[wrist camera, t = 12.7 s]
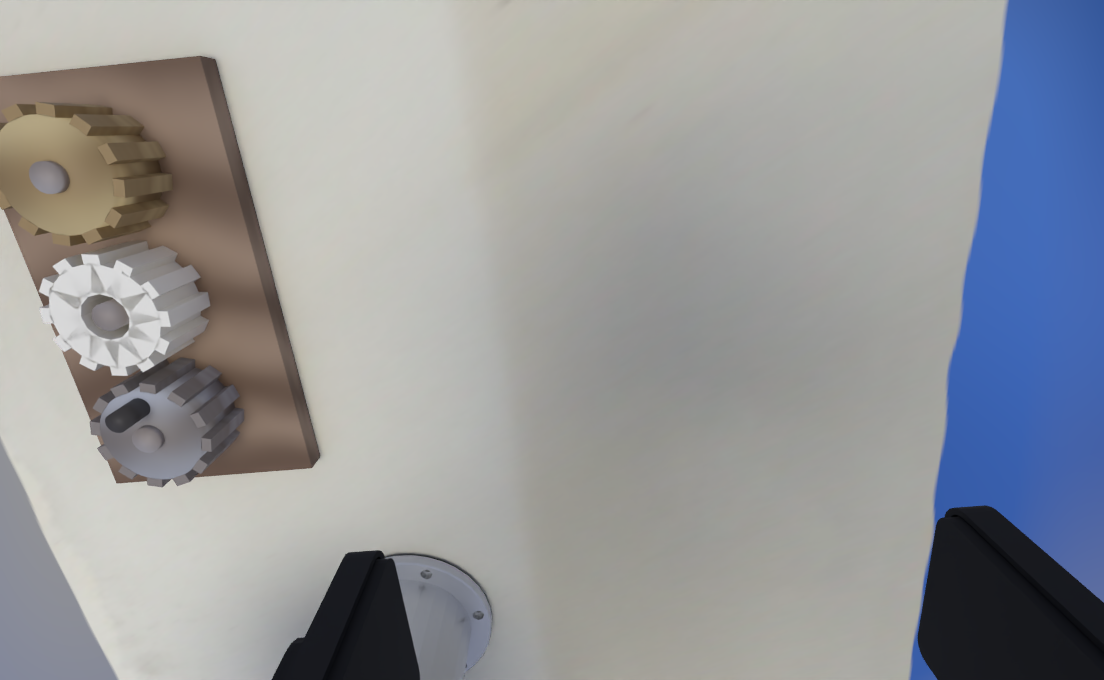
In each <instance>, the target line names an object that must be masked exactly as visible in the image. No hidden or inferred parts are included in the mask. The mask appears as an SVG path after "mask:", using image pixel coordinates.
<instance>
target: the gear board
mask: <svg viewBox="0 0 1104 680" xmlns="http://www.w3.org/2000/svg"><path fill="white" fill-rule="evenodd" d="M0 207H1V209H2V210H4V211H5V214H6V216H7V218H8V221H9V223H10V226H11V228H12V231H13V233H14V235H15V238H16V240H17V243H18V245H19V248H20V250H21V252H22V255H23V257H24V260H25V262H26V265H27V267H28V269H29V272H30V274H31V277H32V279H33V281H34V284H35V286H36V289H37V291H38V294H39V296H40V298H41V301H42V303H43V306H46V305H49V297H48V296H46V295H44V294H42V293H40V292H39V290H40V286H41V283H42V280H43V278H45V277H49V276H52V275H56V274H59V273H58V272H57V271H56V270H55V269H54V268H53V265H55V264H57V263H58V262H60V261H61V260H63V259H65V258H68V257H72V256H75V255H79V254H83V253H87V252H90V251H94V250H98V249H101V248H105V247H109V246H112V245H116V244H121V243H125V242H128V241H147V244H148V248H149V250H150V249H154V248H157V247H160V246H165V247H167V248H169V249H171V250H173V251H175V252H176V253H178V254H177V257H176V259H175V262H176V263H178V264H179V265H180V266H181V267H182V268H184V267H187V266H189V265H192V266H193V268H194V269H195V270H196V271H197V273H198V274H199V275H200V277H201V278H199V279H197V280H196V281H194V283H195V285H196V287H197V289H198V292H208V296H209V301H210V307H208V308H206V309H204V310H202V311H201V315H200V316H202V317H204V318H206V319H208V320H209V321H208V324H207V326H206V328H205V331H204V332H202V333H201V334H199V335H197V336H196V337H194V338H193V339H194V340H195V342H193V343H192V344H190V345H188V346H187V347H185V348H183V349H182V350H180V351H178V352H177V353H175V354H173V355H172V356H170V357H168V358H167V359H165V360H163V361H162V362H160V363H158V364H157V365H155V366H153V367H151V368H150V369H148V370H146V371H145V372H142V371H141V369H139V370H137V371H135V372H133V373H132V374H130V375H128V376H112V373H111V369H110V366H106V365H105V366H103V367H101V368H100V369H98V370H96V371H94V370H91V369H89V368H87V367H85V366H83V365H81V364H79V363H80V360H81V357H82V355H80V354H79V353H78V352H76V351H75V350H74V349H70V350H68V351H65V352H63V350H62V352H63V354H64V357H65V359H66V362H67V364H68V366H69V369H70V371H71V374H72V376H73V378H74V381H75V383H76V386H77V388H78V391H79V393H80V395H81V398H82V400H83V403H84V405H85V408H86V410H87V412H88V415H89V417H90V420H91V421H90V428H91V435H97V437H98V439H99V442H100V444H101V446H100V447H98V448H97V449H98V450H99V452H100V453H101V454H102V456H103V457H104V459H105V460H107V461H108V463H109V466H110V468H111V471H112V473H113V475H114V478H115V480H116V483H128V482H141V481H147V484H148V485H150V486H157V487H163V486H164V485H165V484H166V483H167V482H169V481H170V480H171V479H173V480H174V482H175V483H176V485H177V486H179V485H182V484H185V483H188V482H190V481H191V480H192V479H193V478H194V477H204V476H217V475H229V474H242V473H255V472H268V471H280V470H293V469H306V468H312V467H313V466H314V464H315V463H316V462H317V460H318V459H319V457H320V454H319V450H318V447H317V443H316V439H315V435H314V432H313V428H312V424H311V420H310V416H309V413H308V409H307V405H306V401H305V398H304V394H303V390H302V386H301V382H300V379H299V375H298V371H297V367H296V364H295V360H294V356H293V352H292V348H291V345H290V341H289V337H288V333H287V330H286V326H285V322H284V318H283V314H282V311H281V307H280V303H279V299H278V296H277V292H276V288H275V284H274V280H273V277H272V273H271V269H270V265H269V262H268V258H267V254H266V250H265V246H264V243H263V239H262V235H261V231H260V228H259V224H258V220H257V216H256V212H255V209H254V205H253V201H252V197H251V194H250V190H249V186H248V182H247V178H246V175H245V171H244V167H243V163H242V160H241V156H240V152H239V148H238V144H237V141H236V137H235V133H234V129H233V126H232V122H231V118H230V114H229V110H228V107H227V103H226V99H225V95H224V92H223V88H222V84H221V80H220V76H219V73H218V69H217V65H216V61H215V59H212V58H207V57H202V56H196V57H186V58H176V59H167V60H157V61H147V62H138V63H128V64H118V65H108V66H99V67H89V68H79V69H70V70H60V71H50V72H41V73H31V74H21V75H12V76H2V77H0ZM91 314H92V319H93V321H94V323H95V324H96V325H97V326H98V327H100V328H101V329H103V330H106V331H114V330H116V329H118V328H121V327H123V326H125V325H127V324H129V316H128V314H127V312H126V310H125V308H124V306H122V305H121V304H120V303H119V302H117V301H116V300H115V299H114V298H113V299H111V300H108V301H106V302H103V303H101V304H98V305H96V306H95V307H94V308H93V309H92V313H91ZM51 325H52V328H53V330H54V332H55V335H56V337H57V336H58V335H60V334H59V332H58V331H57V329H56V327H55V325H54V324H51Z"/></svg>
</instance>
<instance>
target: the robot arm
mask: <svg viewBox="0 0 1104 680" xmlns="http://www.w3.org/2000/svg"><path fill="white" fill-rule="evenodd" d="M491 626H492V615H491V609H490V606H489V603H488V601H487V598H486V596H485V595H484V593H483V592H482V590H481V589H480V587H479V586H478V585H477V584H476V583H475V582H474V581H473V580H472V579H471V578H470V577H469V576H468V575H466V574H465V573H463V572H462V571H460V570H459V569H457V568H456V567H454V566H451V565H449V564H447V563H445V562H443V561H439V560H436V559H432V558H429V557H422V556H414V555H402V556H392V557H387V558H385V557H384V554H383V553H382V551H379V550H377V551H363V552H350V553H347V554H346V555H345V557H344V558H343V560H342V562H341V564H340V566H339V568H338V570H337V572H336V574H335V576H334V578H333V580H332V582H331V585H330V587H329V589H328V591H327V593H326V595H325V597H324V599H323V601H322V603H321V605H320V607H319V609H318V611H317V613H316V615H315V617H314V620H313V622H312V624H311V626H310V628H309V630H308V632H307V634H306V636H305V638H297V639H296V640H295V641H293V642H292V643H291V645H290V646H289V648H288V649H287V651H286V652H285V654H284V656H283V658H282V660H281V662H280V664H279V666H278V668H277V670H276V672H275V674H274V676H273V678H272V680H464V673H465V672H466V671H467V670H469V669H470V668H471V667H472V666H474V665H475V664H476V663H477V662H478V660H479V659H480V658H481V657H482V656H483V654H484V652H485V650H486V648H487V646H488V644H489V640H490V635H491ZM918 645H919V648H920V652H921V654H922V657H923V658H924V660H925V662H926V663H927V665H928V666H929V668H930V669H931V671H932V672H933V673H934V675H935V676H936V678H937V679H938V680H1104V603H1103V602H1102V601H1101V600H1100V599H1099V598H1097V597H1096V596H1095V595H1094V594H1093V593H1092V592H1091V591H1089V590H1088V589H1087V588H1086V587H1085V586H1084V585H1082V584H1081V583H1080V582H1079V581H1078V580H1077V579H1075V578H1074V577H1073V576H1072V575H1071V574H1070V573H1069V572H1067V571H1066V570H1065V569H1064V568H1063V567H1062V566H1060V565H1059V564H1058V563H1057V562H1056V561H1055V560H1054V559H1052V558H1051V557H1050V556H1049V555H1048V554H1047V553H1045V552H1044V551H1043V550H1042V549H1041V548H1040V547H1038V546H1037V545H1036V544H1035V543H1034V542H1033V541H1031V540H1030V539H1029V538H1028V537H1027V536H1025V534H1023V533H1022V532H1021V531H1020V530H1019V529H1018V528H1017V527H1015V526H1014V525H1013V524H1012V523H1011V522H1010V521H1008V520H1007V519H1006V518H1005V517H1004V516H1003V515H1001V514H1000V513H999V512H998V511H997V510H995V509H994V508H992V507H989V506H973V507H960V508H952V509H949V510H948V511H947V512H946V514H945V517H944V518H941V519H939V520H938V522H937V525H936V530H935V536H934V542H933V548H932V554H931V561H930V566H929V572H928V578H927V584H926V590H925V596H924V602H923V608H922V614H921V620H920V626H919V632H918Z"/></svg>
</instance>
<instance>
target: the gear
mask: <svg viewBox="0 0 1104 680" xmlns="http://www.w3.org/2000/svg"><path fill="white" fill-rule="evenodd" d="M177 254H178V253H176V252H175V251H173V250H171V249H169V248H167V247H165V246H160V247H157V248H154V249H150V250H149V248H148V244H147V241H128V242H125V243H121V244H116V245H112V246H109V247H105V248H101V249H98V250H94V251H90V252H87V253H83V254H79V255H75V256H72V257H68V258H65V259H63V260H61V261H60V262H58V263H57V264H55V265H53V268H54V269H55V270H56V271H57V272H58V273H59V274H56V275H52V276H49V277H45V278H43V280H42V283H41V286H40V290H39V292H40V293H42V294H44V295H46V296H48V297H49V305H46V306H43V307H40V308H39V310H40V313H41V317H42V320H43V323H50V324H54V325H55V327H56V329H57V331H58V332H59V334H60V335H58V336H57V337H55V338H53V340H54V341H55V343H56V344H57V345H58V346H59V347H60V348H61V349H62V350H63V352H65V351H68V350H70V349H74V350H75V351H76V352H78V353H79V354H80V355H82V357H81V360H80V363H79V364H81V365H83V366H85V367H87V368H89V369H91V370H94V371H96V370H98V369H100V368H101V367H103V366H105V365H106V366H110V369H111V373H112V376H128V375H130V374H132V373H133V372H135V371H137V370H139V369H141V371H142V372H145V371H146V370H148V369H150V368H151V367H153V366H155V365H157V364H158V363H160V362H162V361H163V360H165V359H167V358H168V357H170V356H172V355H173V354H175V353H177V352H178V351H180V350H182V349H183V348H185V347H187V346H188V345H190V344H192V343H193V342H195V340H194V339H193V338H194V337H196V336H197V335H199V334H201V333H202V332H204V331H205V328H206V326H207V324H208V321H209V320H208V319H206V318H204V317H202V316H200V315H201V311H202V310H204V309H206V308H208V307H210V301H209V296H208V292H198V289H197V287H196V285H195V283H194V281H196V280H197V279H199V278H201V277H200V275H199V274H198V273H197V271H196V270H195V269H194V268H193V266H192V265H189V266H187V267H184V268H182V267H181V266H180V265H179V264H178V263H176V262H175V259H176V257H177ZM113 298H114V299H115V300H116V301H117V302H119V303H120V304H121V305H122V306H124V308H125V310H126V312H127V314H128V316H129V324H127V325H125V326H123V327H121V328H118V329H116V330H114V331H106V330H103V329H101V328H100V327H98V326H97V325H96V324H95V323H94V321H93V319H92V314H91V313H92V309H93V308H94V307H95V306H96V305H98V304H101V303H103V302H106V301H108V300H111V299H113Z"/></svg>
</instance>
